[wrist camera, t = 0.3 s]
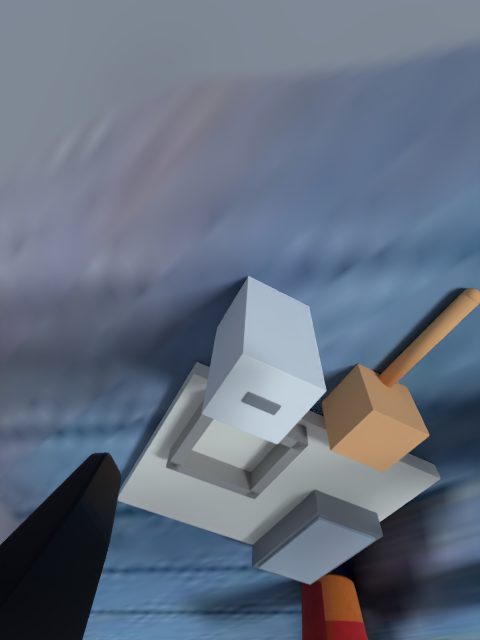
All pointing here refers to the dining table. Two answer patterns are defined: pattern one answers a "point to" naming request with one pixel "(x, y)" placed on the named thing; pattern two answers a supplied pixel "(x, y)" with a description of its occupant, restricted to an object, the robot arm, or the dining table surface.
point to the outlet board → (254, 471)
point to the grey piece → (315, 538)
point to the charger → (264, 364)
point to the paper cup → (331, 610)
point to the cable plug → (386, 399)
